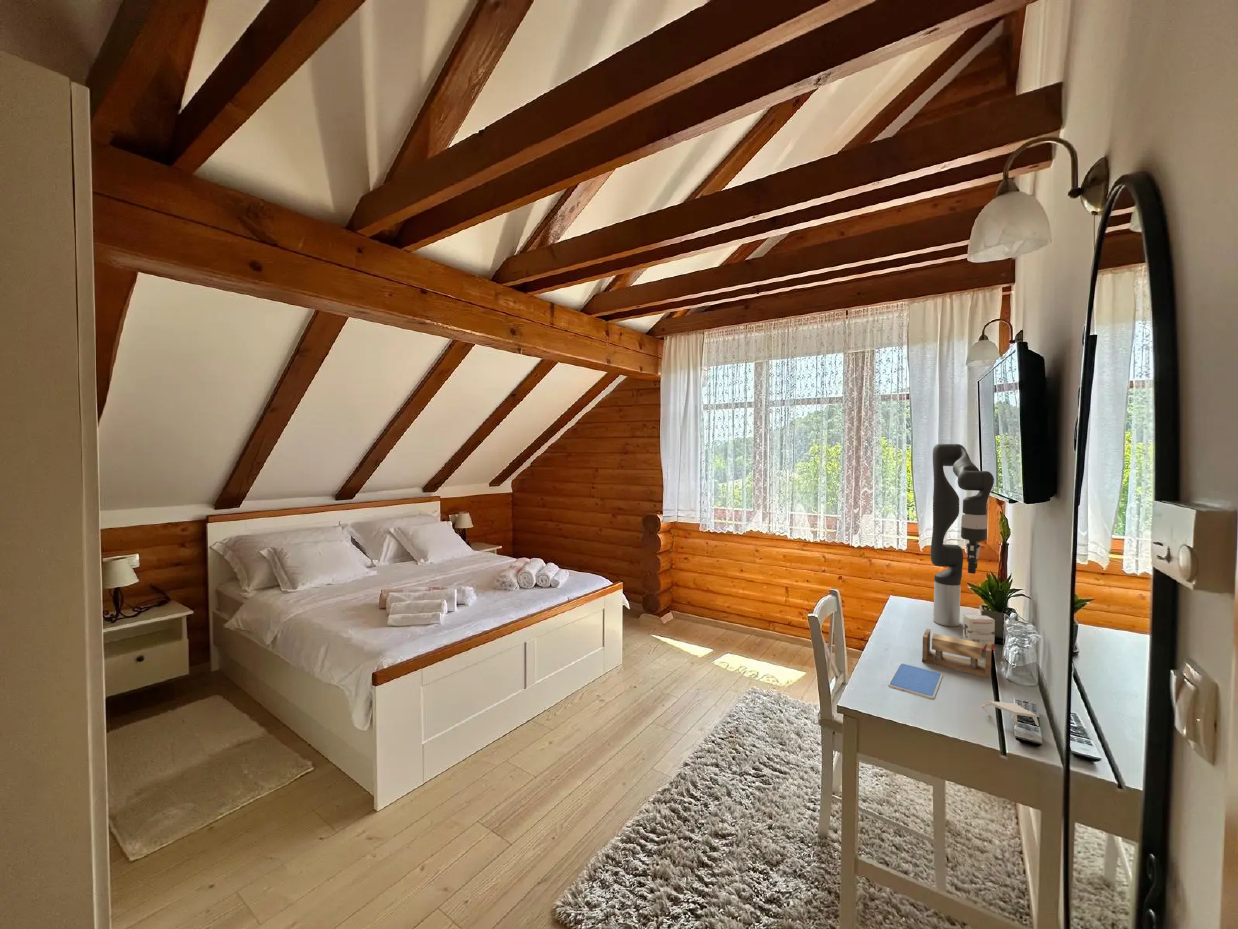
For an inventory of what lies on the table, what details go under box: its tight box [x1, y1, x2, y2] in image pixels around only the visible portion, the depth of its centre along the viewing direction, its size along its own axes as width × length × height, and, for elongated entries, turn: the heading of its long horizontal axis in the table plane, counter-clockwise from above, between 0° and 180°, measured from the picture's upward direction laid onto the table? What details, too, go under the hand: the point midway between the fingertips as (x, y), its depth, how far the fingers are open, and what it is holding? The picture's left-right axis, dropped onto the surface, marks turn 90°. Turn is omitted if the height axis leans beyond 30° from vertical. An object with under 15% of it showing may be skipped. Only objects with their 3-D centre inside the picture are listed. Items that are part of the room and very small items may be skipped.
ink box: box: [962, 614, 996, 652], centre depth 183 cm, size 9×5×12 cm, turn 84°
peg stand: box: [921, 628, 993, 679], centre depth 170 cm, size 9×19×9 cm, turn 51°
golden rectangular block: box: [931, 633, 983, 661], centre depth 169 cm, size 14×5×4 cm, turn 52°
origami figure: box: [980, 700, 1040, 727], centre depth 136 cm, size 12×8×5 cm
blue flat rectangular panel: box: [887, 663, 943, 700], centre depth 159 cm, size 19×13×1 cm, turn 140°
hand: (972, 570), depth 178 cm, fingers open, 8 cm apart
